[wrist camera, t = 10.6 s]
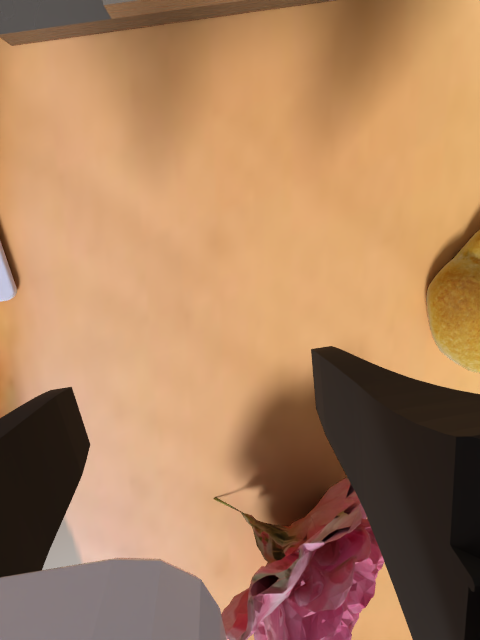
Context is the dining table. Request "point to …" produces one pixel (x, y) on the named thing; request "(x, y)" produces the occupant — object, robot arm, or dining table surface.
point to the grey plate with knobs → (113, 15)
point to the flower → (309, 574)
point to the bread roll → (458, 307)
